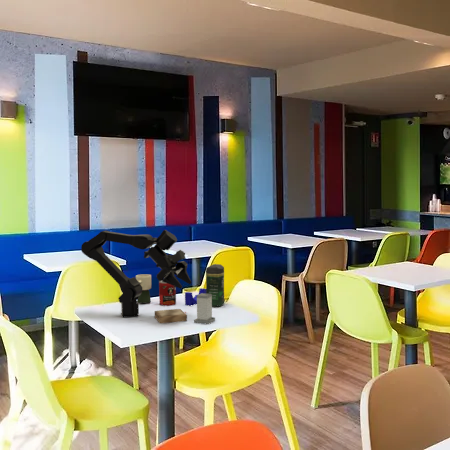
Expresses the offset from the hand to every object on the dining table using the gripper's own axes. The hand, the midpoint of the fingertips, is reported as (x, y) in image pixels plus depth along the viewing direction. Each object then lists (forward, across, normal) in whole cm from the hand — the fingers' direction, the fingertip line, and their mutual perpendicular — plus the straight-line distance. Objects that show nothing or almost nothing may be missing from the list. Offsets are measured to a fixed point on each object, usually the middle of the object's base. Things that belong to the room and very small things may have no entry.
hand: (186, 285), depth 220 cm
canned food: (-5, +24, +24) cm, 34 cm away
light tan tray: (+5, -1, +15) cm, 16 cm away
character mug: (-13, +22, +32) cm, 42 cm away
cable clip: (+3, +30, +17) cm, 34 cm away
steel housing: (+16, -1, +5) cm, 16 cm away
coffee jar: (+11, +28, +10) cm, 32 cm away
